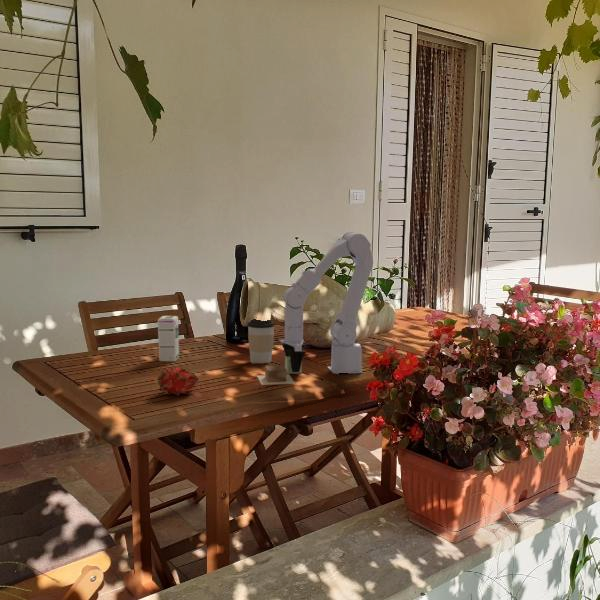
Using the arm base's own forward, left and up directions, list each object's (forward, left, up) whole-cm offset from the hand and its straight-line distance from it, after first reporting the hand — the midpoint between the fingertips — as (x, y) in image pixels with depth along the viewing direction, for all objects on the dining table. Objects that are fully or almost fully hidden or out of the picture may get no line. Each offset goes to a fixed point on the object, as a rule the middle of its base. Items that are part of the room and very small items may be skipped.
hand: (293, 368), depth 205 cm
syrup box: (+38, -23, -2) cm, 44 cm away
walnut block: (+7, +8, -1) cm, 11 cm away
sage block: (0, 0, -2) cm, 2 cm away
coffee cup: (+8, -15, -2) cm, 17 cm away
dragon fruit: (+36, +16, -2) cm, 39 cm away
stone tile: (+7, +8, -1) cm, 11 cm away
